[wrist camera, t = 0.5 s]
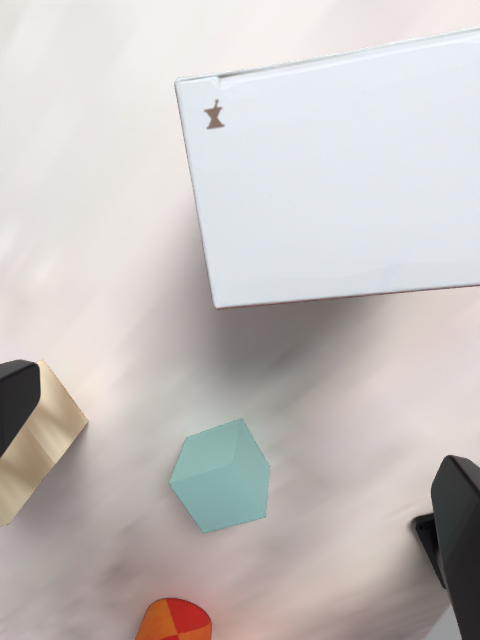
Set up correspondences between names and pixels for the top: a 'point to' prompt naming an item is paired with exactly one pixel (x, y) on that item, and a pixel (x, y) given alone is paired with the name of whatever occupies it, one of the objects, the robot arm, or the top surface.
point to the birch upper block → (21, 473)
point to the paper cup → (175, 621)
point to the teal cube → (222, 477)
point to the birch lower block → (55, 416)
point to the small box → (339, 172)
